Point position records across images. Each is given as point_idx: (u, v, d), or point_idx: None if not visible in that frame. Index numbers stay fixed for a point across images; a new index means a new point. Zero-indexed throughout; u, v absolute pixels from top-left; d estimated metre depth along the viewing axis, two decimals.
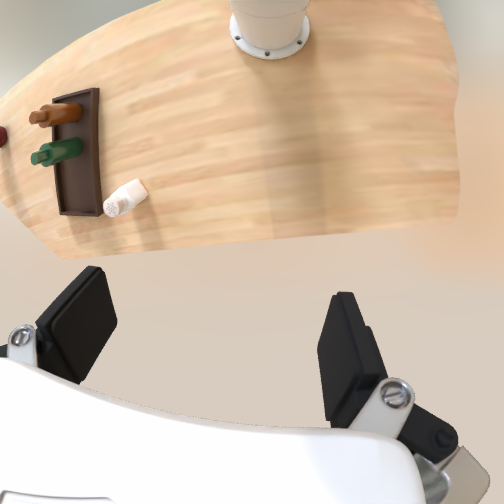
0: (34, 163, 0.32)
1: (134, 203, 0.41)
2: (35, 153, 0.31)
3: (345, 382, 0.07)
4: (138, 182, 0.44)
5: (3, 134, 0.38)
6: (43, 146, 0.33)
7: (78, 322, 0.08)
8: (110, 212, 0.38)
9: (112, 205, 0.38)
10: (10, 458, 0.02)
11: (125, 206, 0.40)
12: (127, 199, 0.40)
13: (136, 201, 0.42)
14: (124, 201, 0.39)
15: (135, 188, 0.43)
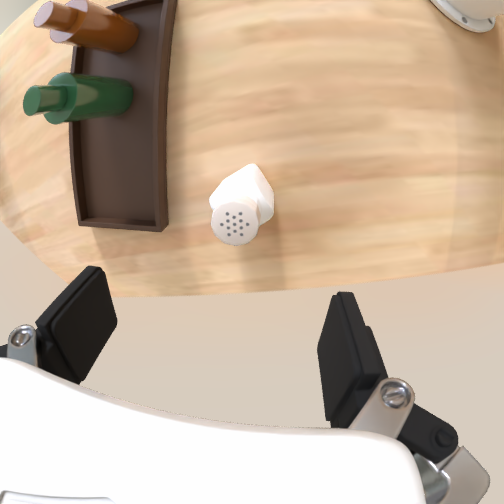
0: (30, 111, 0.11)
1: (272, 213, 0.21)
2: (35, 87, 0.11)
3: (345, 382, 0.07)
4: (259, 170, 0.24)
5: None
6: (55, 80, 0.13)
7: (78, 322, 0.08)
8: (231, 234, 0.18)
9: (240, 218, 0.17)
10: (10, 458, 0.02)
11: None
12: (260, 204, 0.20)
13: (273, 209, 0.22)
14: (258, 208, 0.19)
15: (262, 181, 0.23)
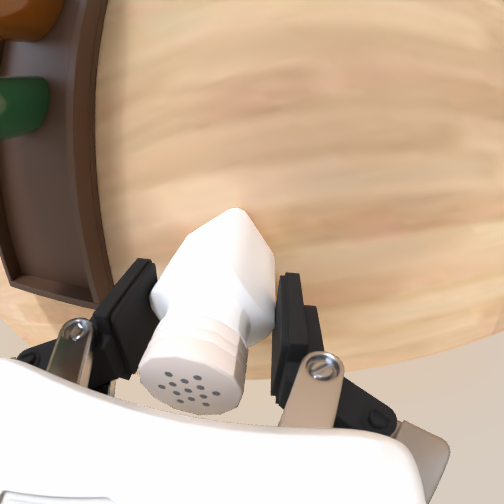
0: None
1: None
2: None
3: (278, 354, 0.08)
4: (248, 221, 0.14)
5: None
6: None
7: (134, 313, 0.09)
8: (185, 401, 0.07)
9: (198, 383, 0.07)
10: (10, 458, 0.02)
11: None
12: (248, 317, 0.09)
13: (274, 312, 0.11)
14: (243, 336, 0.09)
15: (254, 250, 0.12)
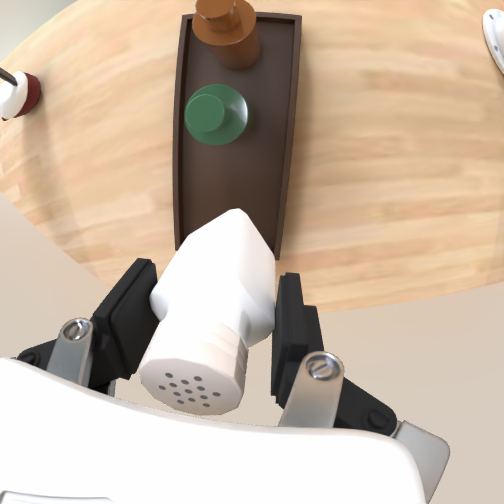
0: (203, 126, 0.13)
1: None
2: (213, 97, 0.13)
3: (278, 353, 0.08)
4: (249, 222, 0.14)
5: (35, 87, 0.20)
6: (210, 90, 0.15)
7: (134, 313, 0.09)
8: (186, 402, 0.07)
9: (198, 384, 0.07)
10: (10, 458, 0.02)
11: None
12: (248, 318, 0.09)
13: (274, 313, 0.11)
14: (243, 337, 0.09)
15: (254, 251, 0.12)
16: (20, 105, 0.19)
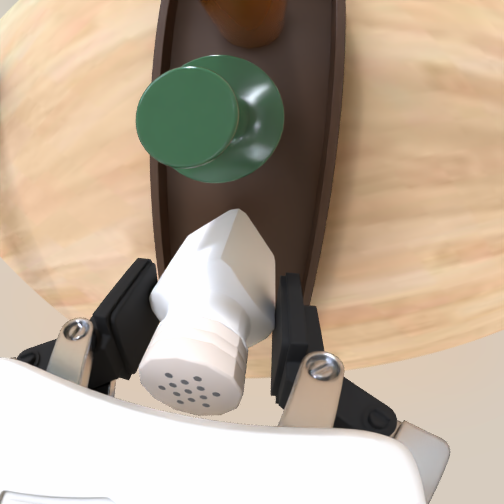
0: (180, 154, 0.05)
1: None
2: (205, 74, 0.04)
3: (278, 353, 0.08)
4: (248, 222, 0.14)
5: None
6: None
7: (134, 313, 0.09)
8: (185, 402, 0.07)
9: (198, 384, 0.07)
10: (10, 458, 0.02)
11: None
12: (248, 318, 0.09)
13: (274, 313, 0.11)
14: (243, 337, 0.09)
15: (254, 251, 0.12)
16: None
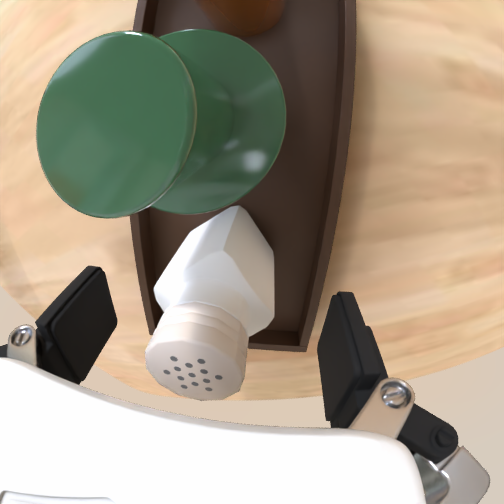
0: (97, 194, 0.03)
1: (271, 316, 0.11)
2: (135, 42, 0.02)
3: (345, 382, 0.07)
4: (248, 218, 0.14)
5: None
6: None
7: (78, 322, 0.08)
8: (189, 386, 0.08)
9: (202, 367, 0.07)
10: (10, 458, 0.02)
11: None
12: (249, 307, 0.10)
13: (273, 304, 0.12)
14: (244, 325, 0.09)
15: (254, 245, 0.13)
16: None
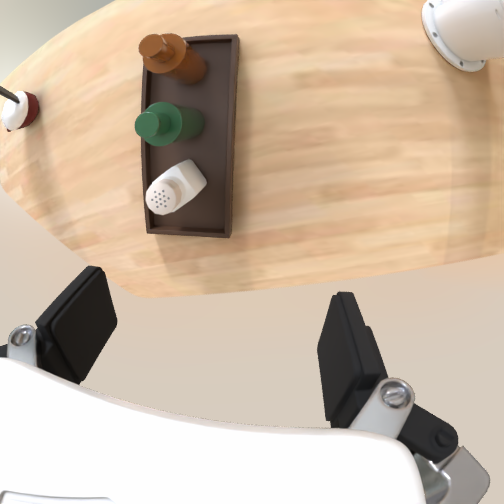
0: (145, 134, 0.19)
1: (195, 193, 0.27)
2: (151, 113, 0.18)
3: (345, 382, 0.07)
4: (193, 164, 0.31)
5: (34, 104, 0.26)
6: (155, 107, 0.21)
7: (78, 322, 0.08)
8: (159, 206, 0.24)
9: (163, 194, 0.24)
10: (10, 458, 0.02)
11: (182, 197, 0.26)
12: (184, 186, 0.26)
13: (197, 190, 0.28)
14: (181, 188, 0.26)
15: (192, 171, 0.29)
16: (22, 119, 0.25)
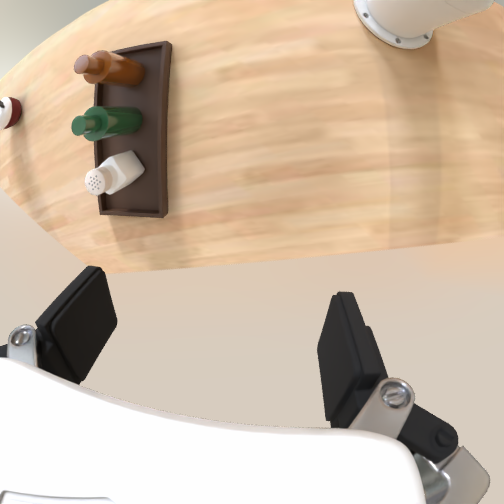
0: (78, 132, 0.22)
1: (126, 178, 0.30)
2: (81, 117, 0.21)
3: (345, 382, 0.07)
4: (132, 154, 0.33)
5: (17, 107, 0.29)
6: (91, 110, 0.23)
7: (78, 322, 0.08)
8: (94, 188, 0.27)
9: (96, 178, 0.27)
10: (10, 458, 0.02)
11: (114, 181, 0.29)
12: (117, 172, 0.29)
13: (129, 175, 0.31)
14: (112, 174, 0.28)
15: (129, 160, 0.32)
16: (7, 121, 0.28)
